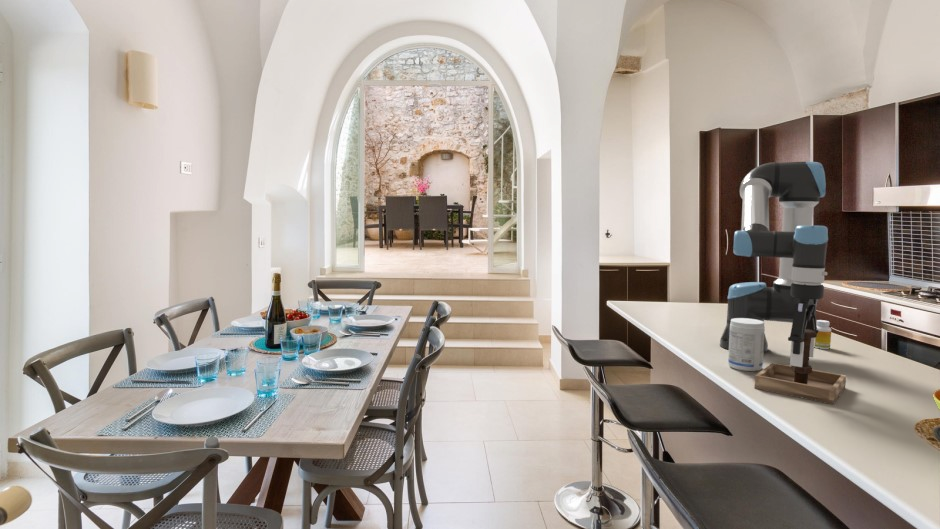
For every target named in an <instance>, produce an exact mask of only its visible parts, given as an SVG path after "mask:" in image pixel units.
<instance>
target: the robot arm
mask: <svg viewBox="0 0 940 529" xmlns="http://www.w3.org/2000/svg"><path fill="white" fill-rule="evenodd" d="M826 184H827V182H826V172H825V169H824V166H823V164H822V163H821V162H818V161H787V162H786V161H785V162H767V163H763V164H760V165H758V166H756V167H755V168H753V169H751V170H750V171H749V172H748V173H747V174H746V175H745V176H744V177H743V179H742V181H741V182H740V186H739V196H740V198H741V199H742V206H741V207H742V208H741V224H740V225H741V228H740V230H736V231H734V235H733V247H732V248H733V249H732V251H733V254H734V255H736V256H740V257H741V256H742V257H746V258H750V257H754V258H757V257H758V258H779V270H778V271H779V273H778V278H777V279H775V280H774V281H773V285H772V286H771V287H770V286H767V283H766V282H762V281H758V282H757V281H750V282H739V283H734V284H732V285H730V286H729V288H728V292H727V293H728V295H727V297H726V298H727V312H726V324H725V325H726V326H725V327H724V330H723V332H722V334H721V337H720V339H719V347H721V348H723V349H726V350H729V334H730V323H731V319H734V318H749V319H756V320H760V321H763V322H764V323H765V321H767V322H782V323H792V324H791V330H790V336H788V338H787V341H789V342H791V345H790V358H789V359H790V360H789V366H791V365H792V366H798V367H802V365H803V351H804V342H803V339H804V334H805V330H806V329H809V330H813V331H815V332H816V333H817V334H818V330H816V329H817V320H818V319H817V306H818V304H817V303H818V300H822V299H824V293H825V292H824V291H825V290H824V289H825V286H824V285H823V283H824V282H825V276H828V272H827V271H825V270H826V260H827V250H828V249H827V248H828V241H829V235H828V233H829V228H828V227H827V225H826V226H825V225H813V216H814V208H815V207H816V206H817V205H818V204H819V203H820V198H824V197H825V196H826V194H827V193H826V187H827V185H826ZM770 198H778V204H779V205H780V206H781V207H782V208H783V210H782V211H783V212H782V224H781V226H782V227H781V231H778V230H776V231H775V230H773V231H772V230H771V231H770V207H769V206H770V202H769V199H770ZM814 339H815V338H811V343H810V351H809V352H810V355H809V358H814V353H815V352H814V351H815V348H814ZM768 348H769V344H768V339H767V337H766V333H765V332H764V349H763V353H766V352H768V350H769V349H768Z"/></svg>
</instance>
